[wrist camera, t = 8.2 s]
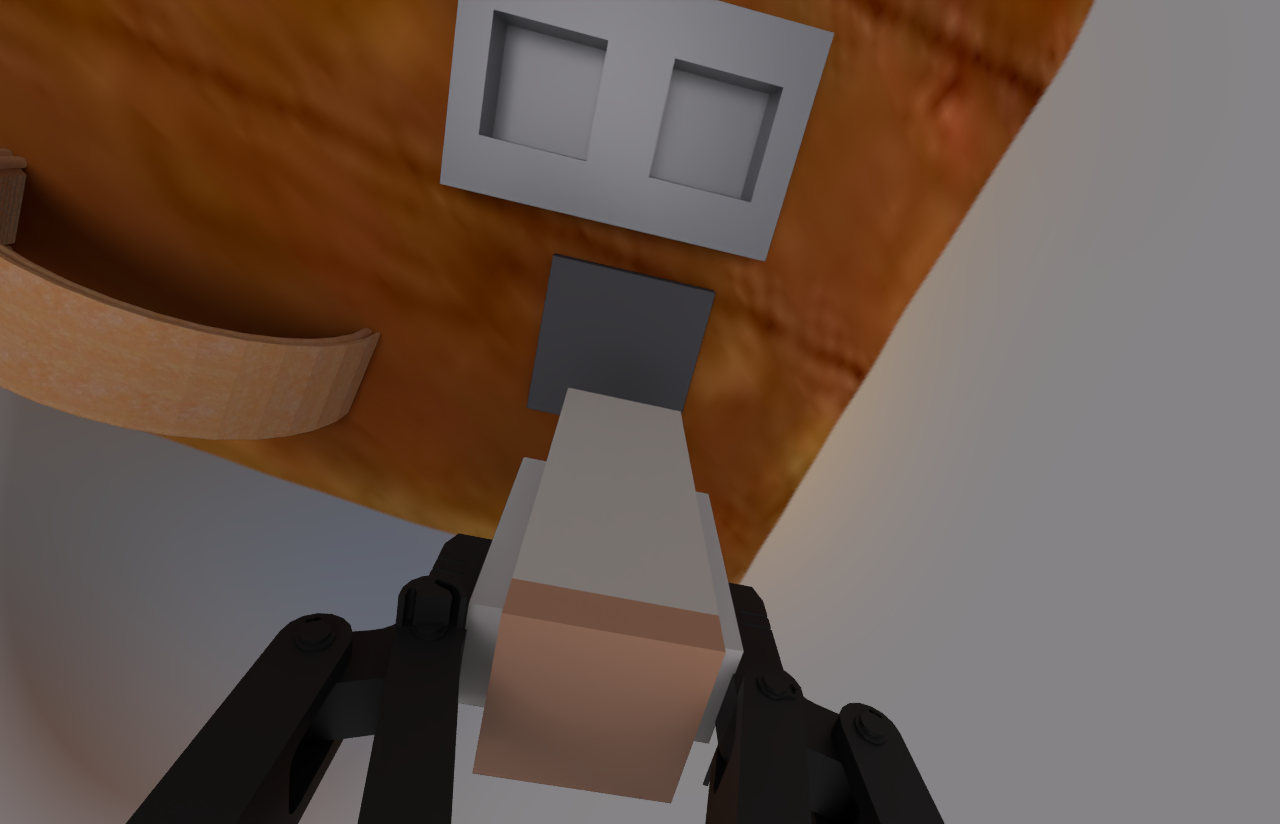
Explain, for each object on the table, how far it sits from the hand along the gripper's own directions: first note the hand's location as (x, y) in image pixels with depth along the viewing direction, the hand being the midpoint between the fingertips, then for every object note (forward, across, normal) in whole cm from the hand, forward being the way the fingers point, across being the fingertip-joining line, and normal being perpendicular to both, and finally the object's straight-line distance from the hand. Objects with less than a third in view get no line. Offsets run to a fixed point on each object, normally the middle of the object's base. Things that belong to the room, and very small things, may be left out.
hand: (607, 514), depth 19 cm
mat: (+18, 0, 0) cm, 18 cm away
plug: (+5, 0, 0) cm, 5 cm away
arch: (+18, -24, -2) cm, 30 cm away
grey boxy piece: (+18, -2, +12) cm, 22 cm away
